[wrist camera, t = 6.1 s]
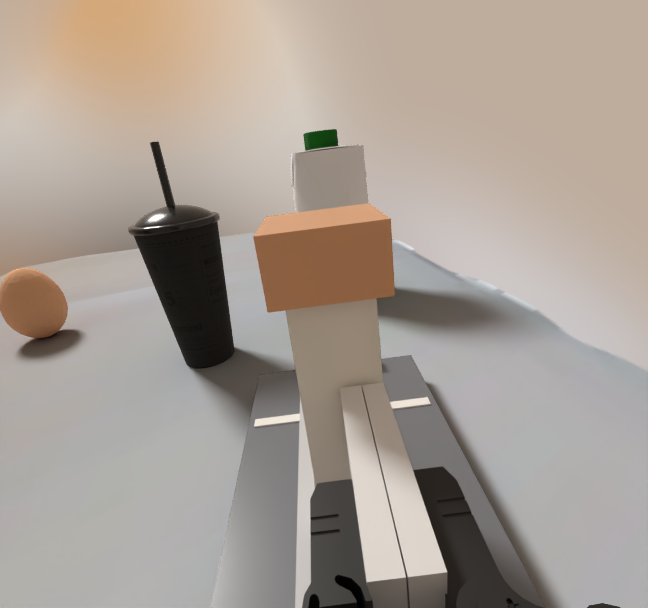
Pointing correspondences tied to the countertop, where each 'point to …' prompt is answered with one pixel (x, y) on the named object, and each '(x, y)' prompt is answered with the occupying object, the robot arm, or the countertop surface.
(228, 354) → the drinking cup
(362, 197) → the milk carton
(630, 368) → the countertop surface
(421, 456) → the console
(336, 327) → the fader
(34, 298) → the egg
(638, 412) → the countertop surface
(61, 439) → the countertop surface
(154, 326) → the countertop surface
